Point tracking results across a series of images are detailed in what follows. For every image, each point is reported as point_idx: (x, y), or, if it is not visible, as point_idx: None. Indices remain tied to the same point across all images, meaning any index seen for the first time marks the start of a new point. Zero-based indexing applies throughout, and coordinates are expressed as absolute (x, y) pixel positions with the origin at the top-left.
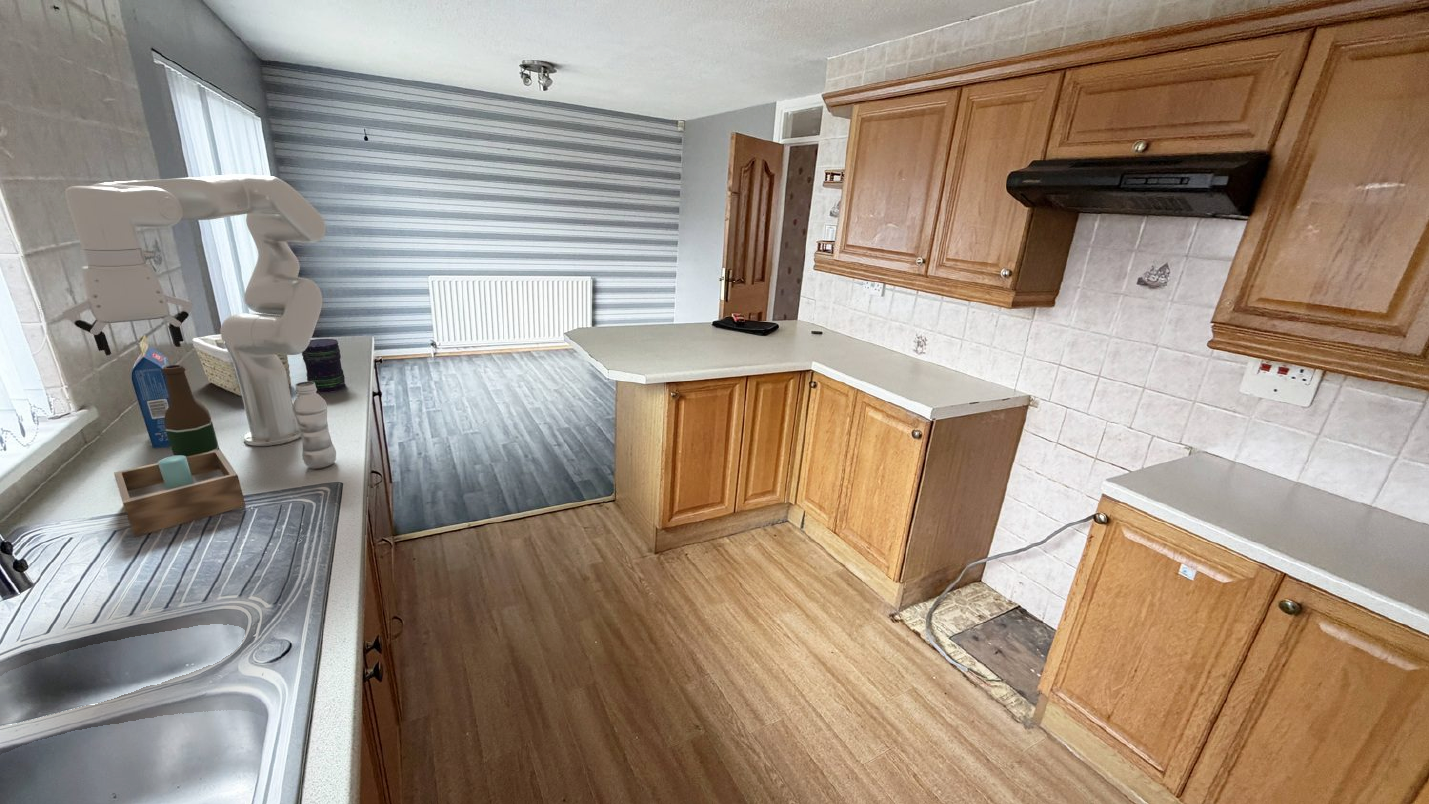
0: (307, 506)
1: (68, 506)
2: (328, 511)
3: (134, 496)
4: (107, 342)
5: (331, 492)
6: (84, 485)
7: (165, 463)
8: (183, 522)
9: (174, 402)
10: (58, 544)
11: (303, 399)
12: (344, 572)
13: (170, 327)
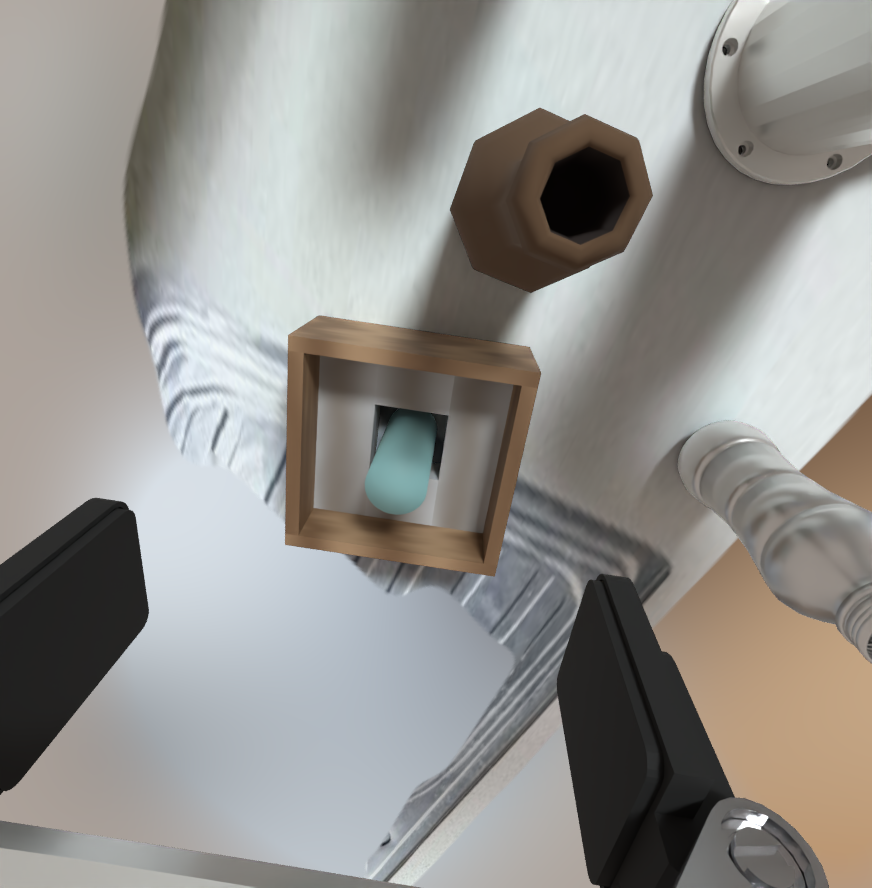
0: (563, 610)
1: (220, 217)
2: None
3: (327, 389)
4: (72, 713)
5: None
6: (254, 64)
7: (377, 500)
8: None
9: (503, 237)
10: (207, 423)
11: (822, 616)
12: (489, 791)
13: (609, 867)
